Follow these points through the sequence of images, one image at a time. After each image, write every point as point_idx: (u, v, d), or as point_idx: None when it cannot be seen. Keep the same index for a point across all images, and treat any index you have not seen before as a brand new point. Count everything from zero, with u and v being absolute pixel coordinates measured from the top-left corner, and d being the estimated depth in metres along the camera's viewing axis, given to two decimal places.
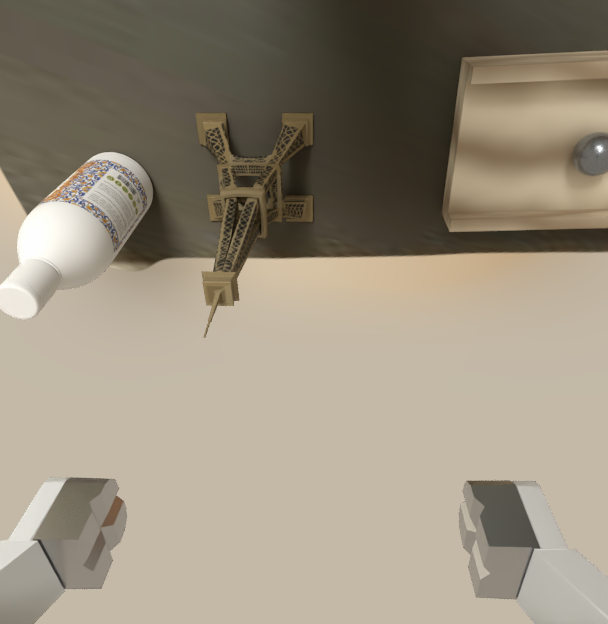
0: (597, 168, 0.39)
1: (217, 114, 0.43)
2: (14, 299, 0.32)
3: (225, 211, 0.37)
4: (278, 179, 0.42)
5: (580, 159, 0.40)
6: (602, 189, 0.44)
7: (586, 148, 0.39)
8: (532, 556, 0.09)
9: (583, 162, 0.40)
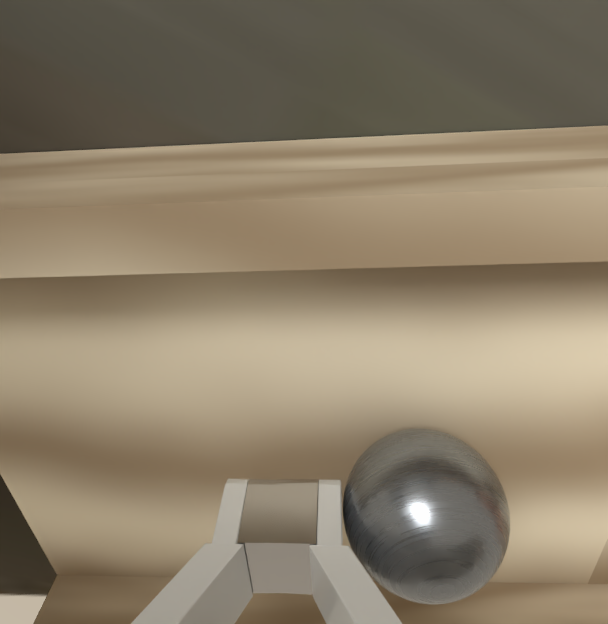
0: (419, 601, 0.10)
1: None
2: None
3: None
4: None
5: (356, 551, 0.10)
6: None
7: (367, 522, 0.09)
8: (310, 552, 0.09)
9: (366, 567, 0.10)
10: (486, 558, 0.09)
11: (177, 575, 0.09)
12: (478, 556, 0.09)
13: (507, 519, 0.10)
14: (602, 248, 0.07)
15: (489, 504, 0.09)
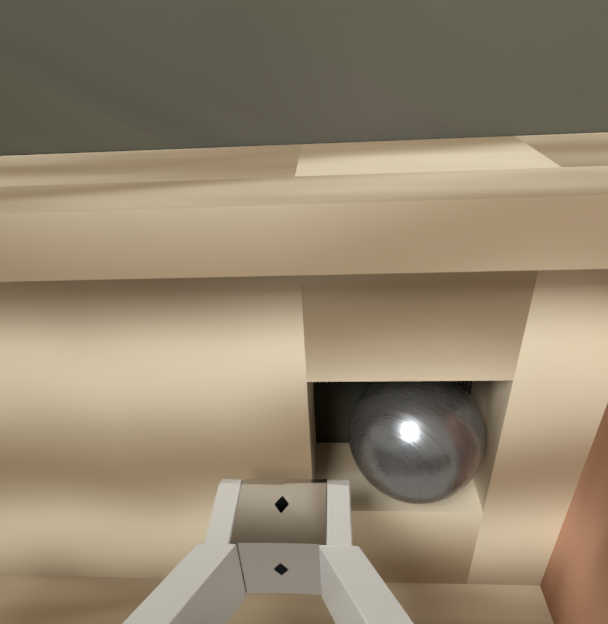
0: (374, 485, 0.12)
1: None
2: None
3: None
4: None
5: (348, 434, 0.13)
6: None
7: (355, 412, 0.12)
8: (320, 552, 0.09)
9: (350, 447, 0.13)
10: (424, 470, 0.11)
11: (169, 575, 0.09)
12: (416, 464, 0.11)
13: (462, 456, 0.11)
14: (96, 267, 0.08)
15: (444, 433, 0.11)
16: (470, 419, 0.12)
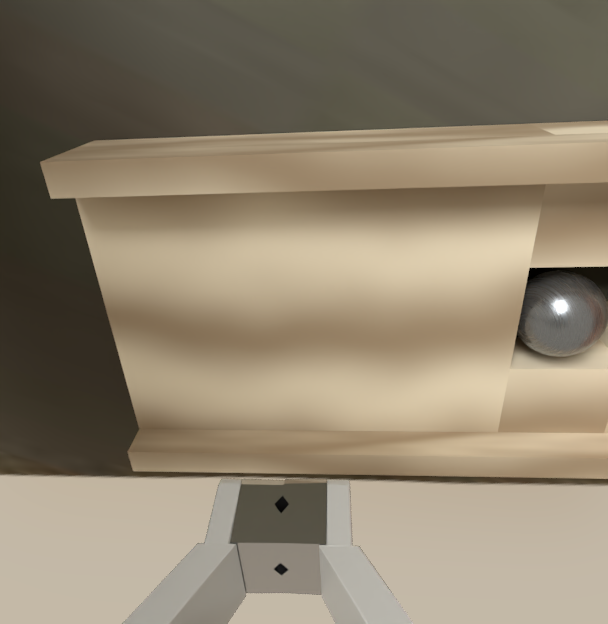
0: (519, 332, 0.20)
1: None
2: None
3: None
4: None
5: None
6: (427, 398, 0.21)
7: None
8: (320, 552, 0.09)
9: None
10: (550, 320, 0.18)
11: (169, 575, 0.09)
12: (546, 315, 0.18)
13: (579, 319, 0.18)
14: (459, 179, 0.15)
15: (570, 301, 0.18)
16: (594, 302, 0.18)
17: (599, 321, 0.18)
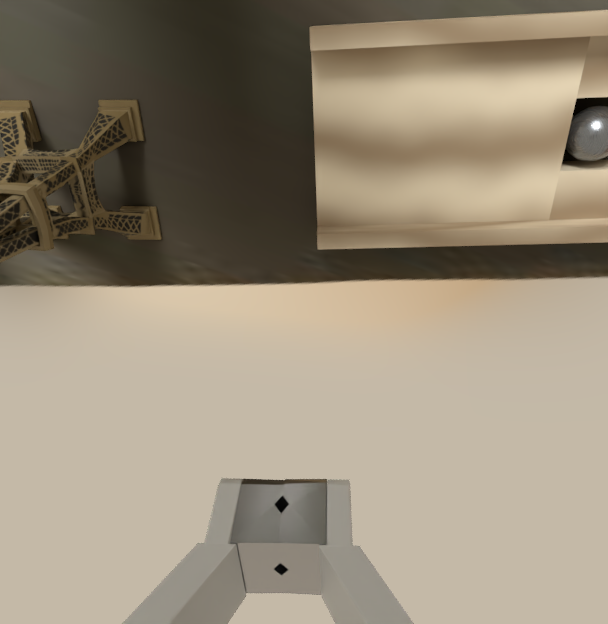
0: (571, 146, 0.32)
1: (18, 101, 0.35)
2: None
3: None
4: (80, 177, 0.32)
5: None
6: (507, 195, 0.34)
7: None
8: (320, 552, 0.09)
9: None
10: (594, 131, 0.31)
11: (169, 575, 0.09)
12: (591, 128, 0.31)
13: None
14: (544, 34, 0.28)
15: (605, 118, 0.31)
16: None
17: None
